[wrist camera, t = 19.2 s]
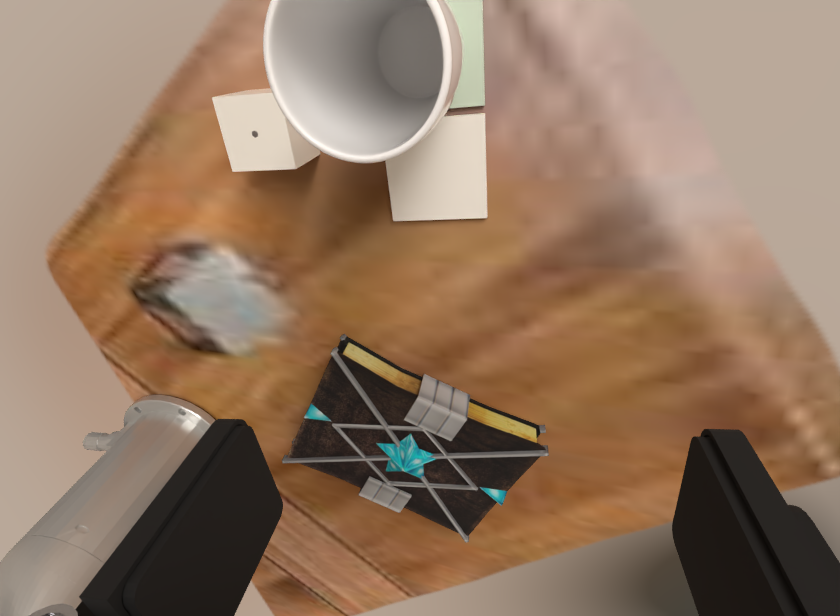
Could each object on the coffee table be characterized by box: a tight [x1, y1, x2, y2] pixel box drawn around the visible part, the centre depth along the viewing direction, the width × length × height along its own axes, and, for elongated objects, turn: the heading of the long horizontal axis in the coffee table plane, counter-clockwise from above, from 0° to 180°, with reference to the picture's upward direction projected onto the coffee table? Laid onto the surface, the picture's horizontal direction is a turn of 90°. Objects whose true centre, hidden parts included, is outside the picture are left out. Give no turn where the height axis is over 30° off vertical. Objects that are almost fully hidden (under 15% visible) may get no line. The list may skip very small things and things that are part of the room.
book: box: [282, 334, 549, 542], centre depth 44 cm, size 22×17×5 cm
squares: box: [385, 0, 487, 221], centre depth 30 cm, size 7×14×1 cm, turn 6°
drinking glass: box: [263, 0, 465, 163], centre depth 22 cm, size 7×7×15 cm
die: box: [212, 88, 320, 172], centre depth 30 cm, size 5×4×4 cm
